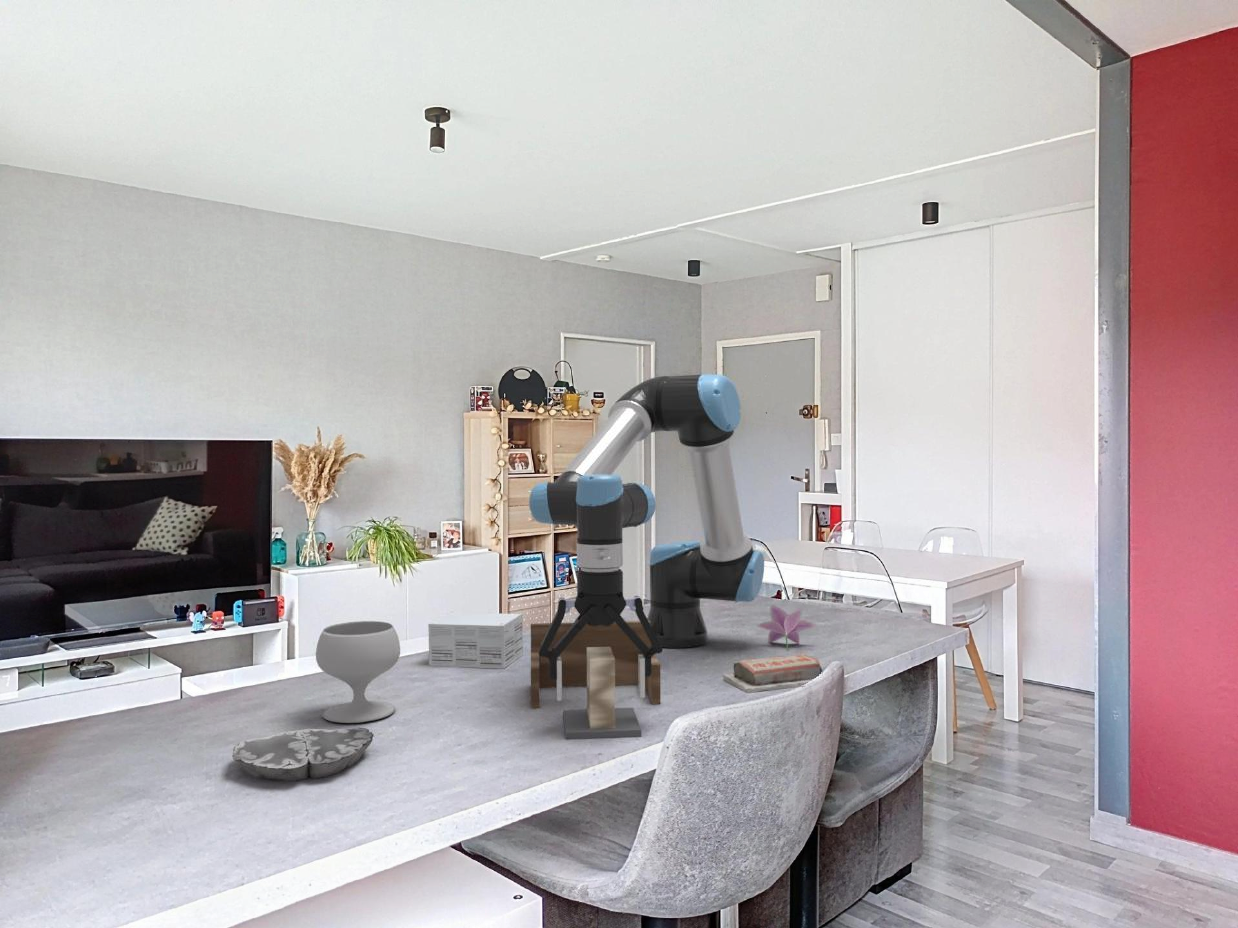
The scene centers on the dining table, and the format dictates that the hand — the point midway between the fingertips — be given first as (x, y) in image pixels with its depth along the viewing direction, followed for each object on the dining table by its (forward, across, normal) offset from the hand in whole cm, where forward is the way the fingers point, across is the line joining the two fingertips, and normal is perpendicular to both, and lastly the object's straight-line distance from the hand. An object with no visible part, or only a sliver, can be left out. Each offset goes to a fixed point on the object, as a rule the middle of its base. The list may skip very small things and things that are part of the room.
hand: (600, 697), depth 146 cm
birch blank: (+4, 0, 0) cm, 4 cm away
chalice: (+5, -41, +11) cm, 43 cm away
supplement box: (+5, -23, +48) cm, 53 cm away
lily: (+5, +46, +52) cm, 70 cm away
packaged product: (+5, +36, +23) cm, 43 cm away
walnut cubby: (+5, 0, +18) cm, 19 cm away
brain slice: (+5, -44, -13) cm, 46 cm away
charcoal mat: (+5, 0, 0) cm, 5 cm away
